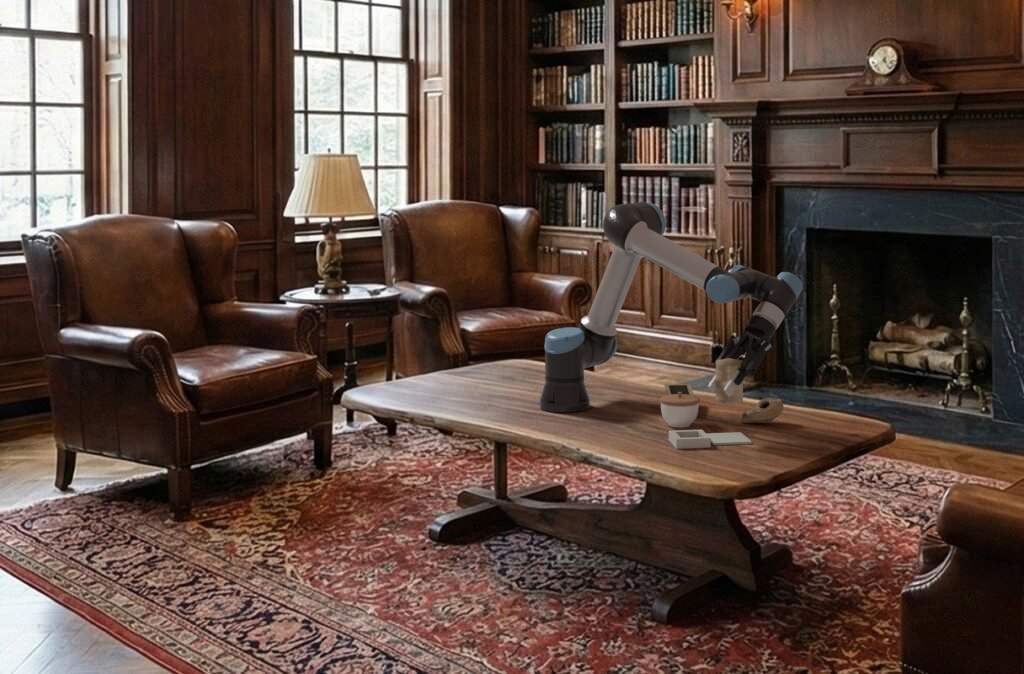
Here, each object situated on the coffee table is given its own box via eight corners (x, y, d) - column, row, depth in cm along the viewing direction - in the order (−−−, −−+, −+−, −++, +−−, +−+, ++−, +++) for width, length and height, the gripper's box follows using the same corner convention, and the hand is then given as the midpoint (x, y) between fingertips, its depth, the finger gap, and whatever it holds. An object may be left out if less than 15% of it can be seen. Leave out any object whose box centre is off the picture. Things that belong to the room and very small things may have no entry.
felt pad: (714, 445, 295) (714, 443, 295) (704, 435, 305) (704, 433, 305) (751, 443, 296) (751, 441, 296) (740, 434, 306) (740, 432, 306)
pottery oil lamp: (738, 418, 323) (739, 394, 322) (781, 419, 321) (782, 395, 320) (739, 426, 315) (740, 401, 313) (783, 427, 313) (784, 402, 311)
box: (689, 398, 344) (690, 382, 342) (701, 428, 323) (701, 412, 321) (662, 398, 344) (662, 383, 342) (672, 429, 323) (672, 413, 321)
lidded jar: (656, 428, 314) (656, 395, 312) (665, 419, 324) (665, 387, 322) (694, 431, 310) (694, 397, 309) (702, 422, 320) (702, 389, 318)
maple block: (715, 401, 299) (716, 360, 297) (729, 398, 302) (729, 358, 300) (729, 404, 295) (729, 363, 293) (742, 401, 298) (743, 360, 296)
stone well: (676, 448, 292) (676, 439, 292) (668, 439, 301) (668, 430, 301) (710, 447, 293) (710, 438, 293) (701, 438, 302) (702, 429, 302)
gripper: (796, 335, 297) (751, 405, 291) (746, 327, 312) (702, 394, 305) (783, 317, 293) (737, 388, 287) (732, 310, 308) (687, 377, 301)
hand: (719, 391), depth 296 cm, fingers closed on maple block, 5 cm apart
